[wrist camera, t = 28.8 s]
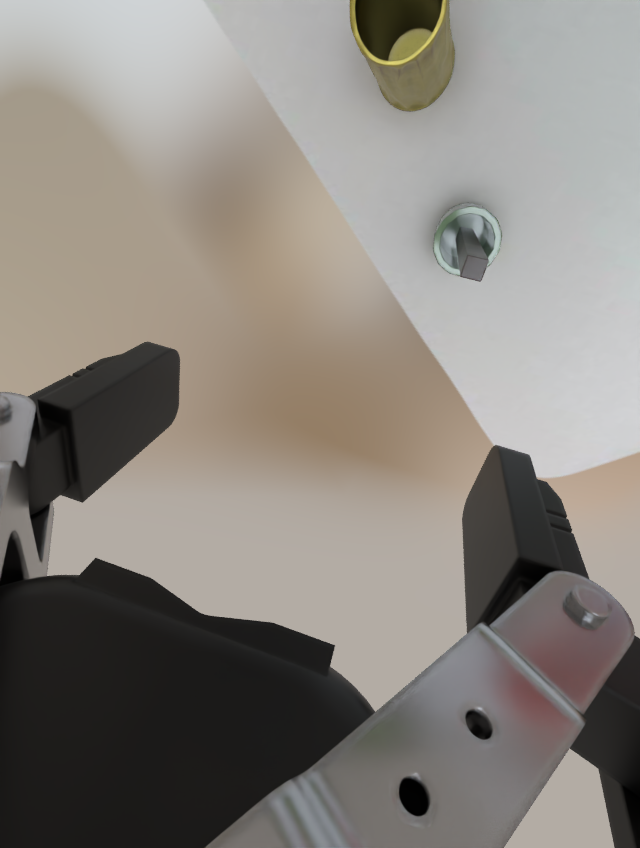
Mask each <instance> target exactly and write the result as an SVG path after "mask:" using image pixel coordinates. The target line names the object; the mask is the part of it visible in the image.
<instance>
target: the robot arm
mask: <svg viewBox="0 0 640 848" xmlns="http://www.w3.org/2000/svg"><path fill="white" fill-rule="evenodd" d="M179 373H180V357H179V354H178V352H177V351H176V350H174V349H171V348H168V347H164V346H161V345H158V344H154V343H151V342H144V343H142V344H140V345H139V346H137V347H135V348H133V349H131V350H129V351H127V352H125V353H123V354H121V355H116V356H112V357H107V358H103V359H100V360H98V361H97V362H95V363H93V364H91V365H89V366H87V367H86V369H81V370H79V371H77V372H75V373H73V376H70V375H69V376H67V377H65V378H63V379H61V380H59V381H57V382H55V383H53V384H52V385H50V386H48V387H46V388H44V389H42V390H40V391H38V392H36V393H34V394H32V395H30V396H28V397H26V396H24V395H21V394H16V393H9V392H0V848H504V846H505V845H506V843H507V842H508V840H509V839H510V837H511V836H512V834H513V833H514V831H515V830H516V828H517V826H518V825H519V824H520V822H521V821H522V819H523V818H524V816H525V815H526V813H527V812H528V810H529V809H530V807H531V806H532V804H533V803H534V801H535V800H536V798H537V796H538V795H539V793H540V792H541V791H542V789H543V788H544V786H545V784H546V783H547V781H548V780H549V778H550V777H551V775H552V774H553V772H554V771H555V769H556V768H557V766H558V765H559V763H560V762H561V760H562V759H563V757H564V756H565V754H566V753H567V751H568V750H569V748H570V749H571V750H573V751H574V752H576V753H577V754H579V755H580V756H581V757H583V758H584V759H586V760H587V761H589V762H590V763H591V764H593V765H594V766H596V767H597V768H598V769H599V773H600V778H601V783H602V788H603V793H604V798H605V802H606V808H607V813H608V817H609V822H610V827H611V832H612V837H613V842H614V847H615V848H640V639H639V638H638V637H636V636H635V635H634V634H635V632H634V627H633V624H632V621H631V619H630V617H629V615H628V614H627V612H626V611H625V609H624V608H623V607H622V605H621V604H620V603H619V602H618V601H617V600H616V599H615V598H614V597H613V596H612V595H611V594H610V593H609V592H607V591H606V590H605V589H604V588H602V587H601V586H599V585H598V584H596V583H594V582H593V581H591V580H590V579H589V577H588V574H587V571H586V568H585V565H584V563H583V560H582V557H581V554H580V551H579V548H578V546H577V543H576V540H575V537H574V534H572V533H571V531H572V529H571V526H570V523H569V520H568V519H566V517H567V515H566V512H565V509H564V506H563V503H562V501H561V499H560V498H559V496H558V495H557V494H556V493H555V492H554V490H553V489H552V488H551V487H550V486H549V485H548V483H547V482H544V481H541V480H538V479H537V478H536V475H535V471H534V468H533V465H532V461H531V458H530V456H529V455H528V454H525V453H521V452H518V451H515V450H511V449H508V448H504V447H501V446H498V445H495V446H494V447H493V448H492V449H491V450H490V452H489V454H488V456H487V458H486V460H485V462H484V464H483V466H482V468H481V470H480V472H479V474H478V476H477V479H476V481H475V483H474V485H473V487H472V489H471V491H470V493H469V495H468V498H467V500H466V503H465V507H464V511H463V518H462V524H463V549H464V572H465V596H466V621H467V634H466V635H465V636H464V637H463V638H461V639H460V640H459V641H458V642H457V643H456V644H455V645H453V646H452V647H451V648H450V649H449V650H447V651H446V652H445V653H444V654H443V655H442V656H440V657H439V658H438V659H437V660H436V661H435V662H434V663H432V664H431V665H430V666H429V667H428V668H426V669H425V670H424V671H423V672H422V673H421V674H419V675H418V676H417V677H416V678H415V679H414V680H412V681H411V682H410V683H409V684H408V685H407V686H405V687H404V688H403V689H402V690H401V691H400V692H398V694H396V695H395V696H394V697H393V698H392V699H390V700H389V701H388V702H387V703H386V704H385V705H383V706H382V707H381V708H380V709H379V710H377V711H376V712H375V711H374V710H373V708H372V707H371V705H370V704H369V703H368V701H367V700H366V699H365V698H364V697H363V696H362V695H361V694H360V692H359V691H358V690H357V689H356V688H355V687H354V686H353V685H352V684H351V683H350V682H349V681H348V680H346V679H345V678H344V677H343V676H342V675H341V674H339V673H338V672H337V671H335V670H334V669H333V668H331V667H330V663H331V659H332V655H333V651H334V647H335V645H332V644H330V643H327V642H324V641H321V640H319V639H316V638H313V637H310V636H308V635H305V634H302V633H299V632H296V631H294V630H291V629H289V628H286V627H283V626H280V625H277V624H275V623H270V622H261V621H252V620H242V619H234V618H225V617H214V616H208V615H204V614H201V613H199V612H198V611H196V610H195V609H193V608H192V607H191V606H189V605H188V604H186V603H185V602H184V601H182V600H181V599H180V598H178V597H177V596H175V595H174V594H173V593H171V592H170V591H168V590H167V589H165V588H164V587H163V586H161V585H160V584H158V583H157V582H156V581H154V580H153V579H151V578H149V577H146V576H144V575H141V574H138V573H135V572H132V571H130V570H127V569H124V568H122V567H119V566H116V565H114V564H111V563H108V562H105V561H102V560H100V559H97V558H95V559H94V560H93V561H92V562H91V564H89V566H88V567H87V568H86V569H85V570H84V571H83V572H82V573H81V574H80V575H54V576H47V570H48V561H49V552H50V543H51V533H52V525H53V516H54V508H53V502H52V501H53V500H54V499H56V498H57V497H58V496H59V495H62V496H66V497H68V498H71V499H74V500H77V501H80V502H84V501H85V500H86V499H87V498H88V497H90V496H91V495H92V494H93V493H94V492H95V491H96V490H98V489H99V488H100V487H101V486H102V485H103V484H104V483H106V482H107V481H108V480H109V479H110V478H111V477H112V476H113V475H115V474H116V473H117V472H118V471H119V470H120V469H121V468H123V467H124V466H125V465H126V464H127V463H128V462H129V461H131V460H132V459H133V458H134V457H135V456H136V455H137V454H139V452H141V451H142V450H143V449H144V448H145V447H147V446H148V445H149V444H150V443H151V442H152V441H153V440H155V439H156V438H157V437H158V436H159V435H160V434H161V433H162V432H163V431H165V430H166V429H167V428H168V427H169V426H170V425H171V424H172V422H173V421H174V419H175V417H176V414H177V411H178V406H179V375H180V374H179Z"/></svg>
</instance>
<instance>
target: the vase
mask: <svg viewBox="0 0 640 848" xmlns="http://www.w3.org/2000/svg"><path fill="white" fill-rule="evenodd" d="M350 23H351V28H352V32H353V35H354V37H355V40H356V42H357V45H358V47H359V49H360V51H361V53H362V54H363V56H364V57H365V58H366V60H367V62H368V64H369V66H370V68H371V70H372V72H373V74H374V76H375V77H376V79H377V82H378V84H379V87H380V90H381V92H382V94H383V96H384V97H385V99H386V100H387V101H388V102H389V103H390V104H391V105H393V106H394V107H396V108H398V109H400V110H404V111H416V110H420V109H422V108H425V107H427V106H429V105H430V104H431V103H433V102H434V101H435V100H436V99H437V98H438V97H439V96H440V95H441V94H442V92H443V91H444V89H445V88H446V86H447V84H448V82H449V80H450V78H451V75H452V72H453V67H454V58H455V50H454V43H453V40H452V35H451V29H450V19H449V0H350Z"/></svg>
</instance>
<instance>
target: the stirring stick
mask: <svg viewBox="0 0 640 848" xmlns="http://www.w3.org/2000/svg"><path fill="white" fill-rule="evenodd" d="M456 247H457V255H458V263H459V271H460V277H464V278H468V279H472V280H476V281H480V282H481V280H482V278H483V275H484V272H485V270H486V267H487V264H488V262H489V259H488V258H487V256H486V254H485V252H484V250H483V248H482V246H481V244H480V242H479V240H478V238H477V236H476V234H475V232H474V230H473V229H469V228H465V227H460V228H459V231H458V234H457V237H456Z"/></svg>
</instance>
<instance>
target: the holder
mask: <svg viewBox="0 0 640 848" xmlns="http://www.w3.org/2000/svg"><path fill="white" fill-rule="evenodd" d="M460 227H465V228H469V229H473V230H474V232H475V234H476V236H477V238H478V240H479V242H480V244H481V246H482V248H483V250H484V252H485V254H486V256H487V258H488V259H489V262H488V264H487V267H488V266H489V265H490V264H491V263H492V262H493V260H494V258H495V257H496V255H497V254H498V252H499V250H500V245H501V238H502V233H501V229H500V226H499V223H498V220H497V219H496V218H495V217H494V216H493V215H492V214H491V213H490V212H489V211H488V210H486V209H485V208H484V207H482V206H481V205H477V204H473V203H464V204H459V205H456V206H454V207H453V208H451V209H450V210H448V211H447V212H446V213H445V214H444V215H443V216H442V218H441V220H440V222H439V224H438V226H437V228H436V232H435V235H434V246H433V251H434V254H435V257H436V259H437V262H438V264H439V265H440V266H441V267H442V268H443V269H445V270H446V271H447V272H448V273H450V274H454V275H458V276H460V271H459V263H458V255H457V247H456V237H457V234H458V231H459V228H460Z"/></svg>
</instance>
